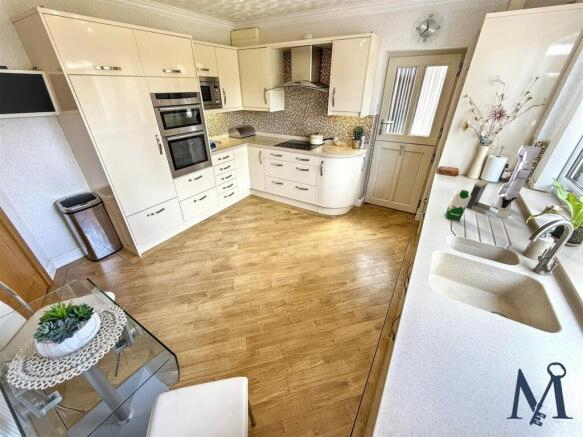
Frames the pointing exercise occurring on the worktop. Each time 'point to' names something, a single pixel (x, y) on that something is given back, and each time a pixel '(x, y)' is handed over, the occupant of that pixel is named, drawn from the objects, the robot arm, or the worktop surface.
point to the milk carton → (458, 205)
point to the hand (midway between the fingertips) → (504, 206)
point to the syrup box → (502, 211)
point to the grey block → (477, 197)
